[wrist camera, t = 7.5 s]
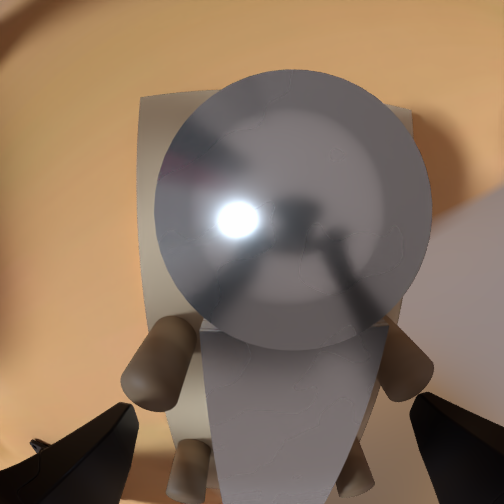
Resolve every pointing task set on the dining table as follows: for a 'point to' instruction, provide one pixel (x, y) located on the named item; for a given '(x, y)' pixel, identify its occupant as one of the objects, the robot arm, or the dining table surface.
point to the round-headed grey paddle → (290, 268)
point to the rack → (189, 321)
